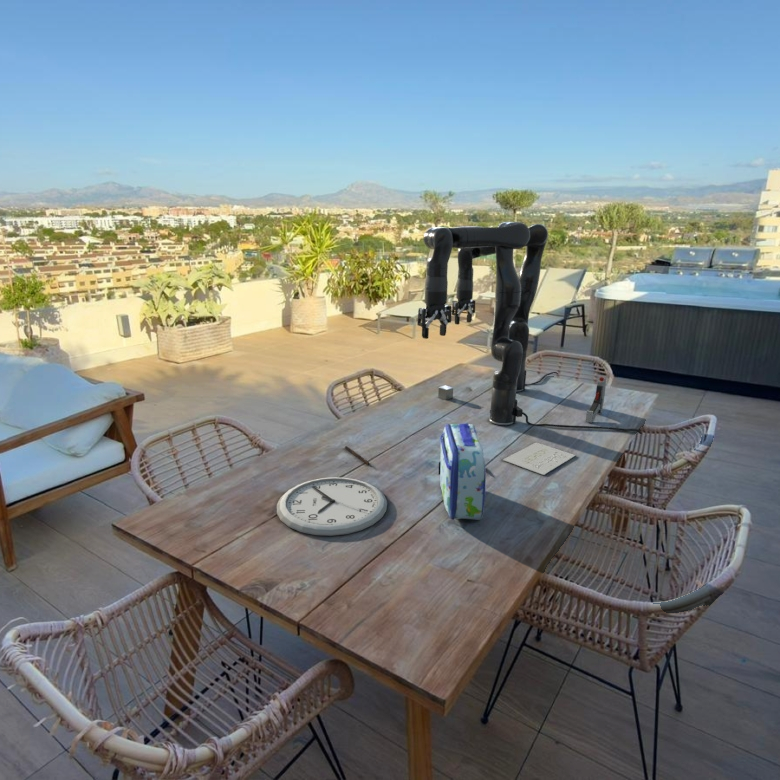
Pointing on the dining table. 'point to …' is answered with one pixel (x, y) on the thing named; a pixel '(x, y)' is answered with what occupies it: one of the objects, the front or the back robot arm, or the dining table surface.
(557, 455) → the invitation card
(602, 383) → the toy gun
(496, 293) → the front robot arm
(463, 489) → the lunch box
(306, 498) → the wall clock
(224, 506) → the dining table surface
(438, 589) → the dining table surface
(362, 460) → the brown thin stick
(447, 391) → the block
